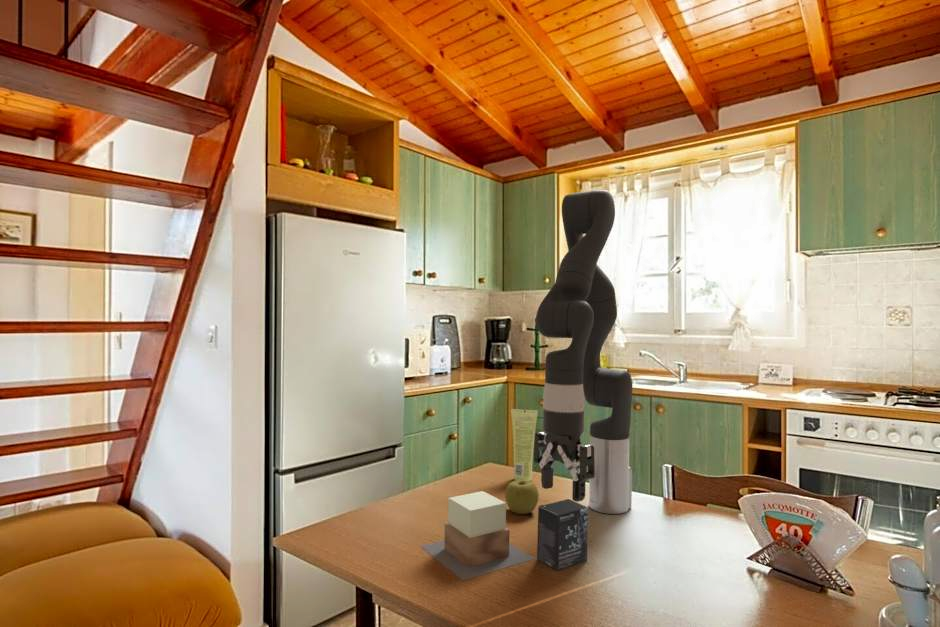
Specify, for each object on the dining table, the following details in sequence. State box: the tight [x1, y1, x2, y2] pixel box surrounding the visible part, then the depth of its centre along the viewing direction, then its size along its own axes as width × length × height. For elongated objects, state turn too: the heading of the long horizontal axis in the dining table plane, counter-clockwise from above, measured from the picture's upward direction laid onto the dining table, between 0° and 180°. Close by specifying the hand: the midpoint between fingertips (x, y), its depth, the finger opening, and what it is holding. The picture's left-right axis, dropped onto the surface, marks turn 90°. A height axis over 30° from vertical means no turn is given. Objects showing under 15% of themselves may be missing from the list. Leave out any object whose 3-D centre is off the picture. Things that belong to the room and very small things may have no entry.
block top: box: [447, 490, 507, 538], centre depth 106 cm, size 8×8×5 cm
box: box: [536, 498, 589, 572], centre depth 103 cm, size 8×6×11 cm
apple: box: [504, 480, 539, 515], centre depth 128 cm, size 8×8×7 cm
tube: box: [510, 408, 539, 482], centre depth 153 cm, size 6×5×20 cm
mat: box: [420, 539, 536, 581], centre depth 106 cm, size 16×16×1 cm
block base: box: [444, 522, 510, 567], centre depth 106 cm, size 9×9×5 cm
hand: (562, 494), depth 103 cm, fingers open, 8 cm apart
